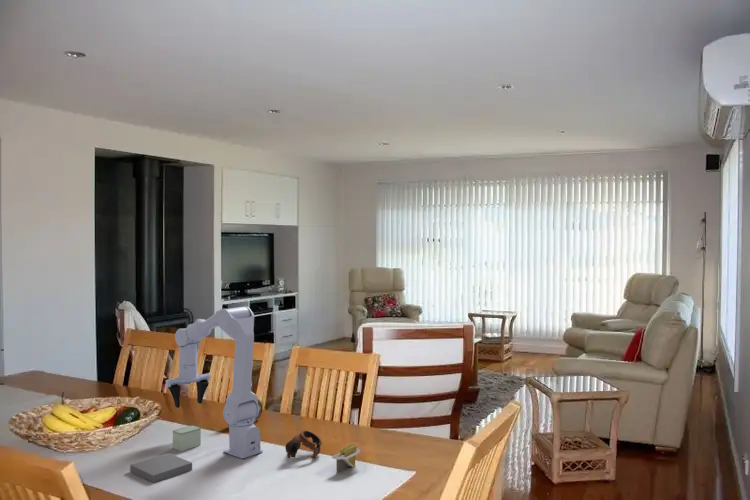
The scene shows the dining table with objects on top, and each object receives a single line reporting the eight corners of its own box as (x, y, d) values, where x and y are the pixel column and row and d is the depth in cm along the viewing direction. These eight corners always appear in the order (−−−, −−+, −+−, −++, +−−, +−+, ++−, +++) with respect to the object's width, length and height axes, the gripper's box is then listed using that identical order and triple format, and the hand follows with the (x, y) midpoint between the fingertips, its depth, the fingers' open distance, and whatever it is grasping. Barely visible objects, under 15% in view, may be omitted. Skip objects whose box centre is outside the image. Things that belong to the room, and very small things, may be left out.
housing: (200, 445, 196) (200, 428, 196) (181, 451, 191) (180, 433, 191) (192, 442, 199) (192, 425, 199) (172, 448, 194) (172, 430, 194)
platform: (382, 464, 181) (382, 442, 181) (345, 485, 166) (345, 461, 166) (349, 456, 188) (349, 434, 187) (310, 475, 173) (310, 452, 172)
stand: (192, 469, 176) (192, 462, 176) (153, 482, 167) (153, 475, 167) (168, 459, 184) (168, 453, 184) (130, 471, 174) (130, 464, 174)
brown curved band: (297, 449, 194) (310, 427, 193) (316, 469, 188) (330, 446, 188) (272, 450, 184) (286, 427, 183) (292, 471, 179) (306, 447, 178)
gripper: (204, 359, 213) (204, 398, 214) (162, 365, 204) (162, 406, 205) (212, 362, 208) (213, 403, 208) (170, 368, 199) (170, 410, 199)
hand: (188, 405), depth 206 cm, fingers open, 7 cm apart
